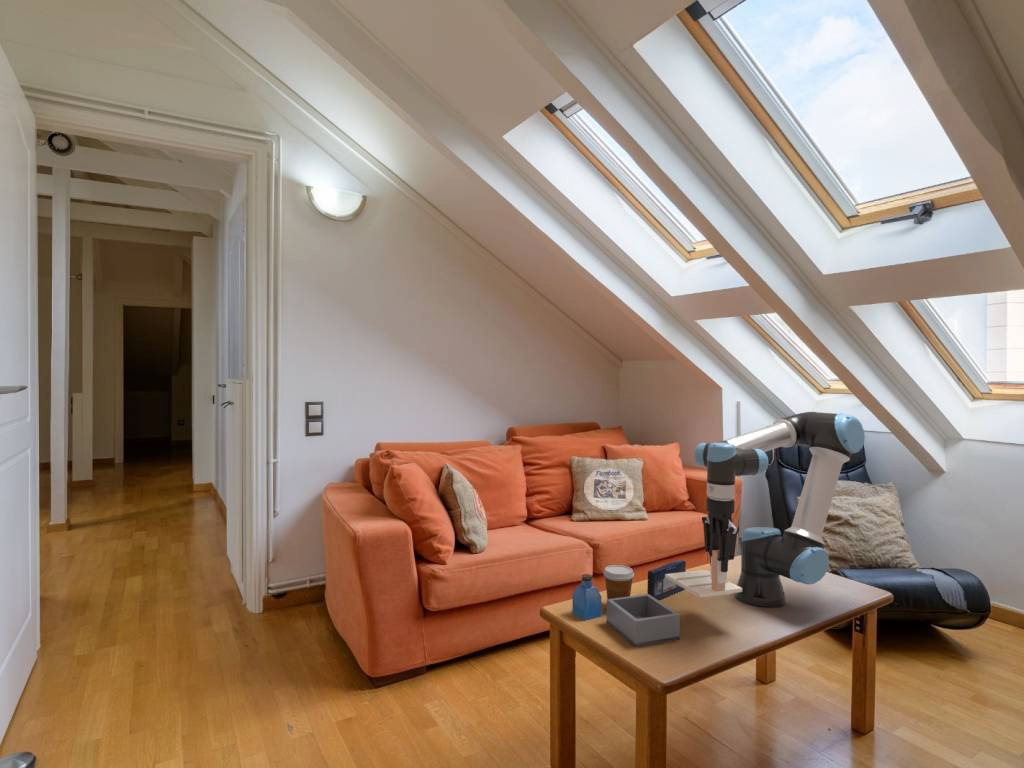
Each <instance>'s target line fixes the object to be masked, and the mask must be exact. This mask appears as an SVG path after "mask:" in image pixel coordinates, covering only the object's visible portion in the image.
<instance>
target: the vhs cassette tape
mask: <svg viewBox="0 0 1024 768" xmlns="http://www.w3.org/2000/svg"><path fill="white" fill-rule="evenodd" d="M686 561H687V560H683V559H678V560H675V561H673V562H670V563H667V564H665V565H661V566H659V567H655V568H653V569H651V570H648V571H647V591H646V592H647V593H646V594H649V595H651V596H652V597H654V598H655V599H657V600H658V601H659V600H660V601H661V600H664V598H665V599H666V598H669V596H670V597H672V596H674V595H676V593H677V594H679V593H682V592H684V591H685V590H686V589H684V588H682V587H681V586H679V585H677V584H675V583H674V582H672V581H670V580H668V579H667V578H665V574H671V573H680V572H687V570H686V567H687V564H686V563H687V562H686ZM683 590H684V591H683ZM678 592H679V593H678ZM673 594H674V595H673ZM671 595H672V596H671Z"/></svg>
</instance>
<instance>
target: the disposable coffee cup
mask: <svg viewBox="0 0 1024 768" xmlns="http://www.w3.org/2000/svg"><path fill="white" fill-rule="evenodd" d="M603 576H604V581H605V589H606V597H607V599H613V598H621V597H628V596H631V592H632V587H633V586H632V585H633V579H634V577H635V573H634V571H633V569H632V568H631V567H630V566H626V565H621V564H614V565H613V564H611V565H608V566H607V565H606V566H605V568H604V571H603ZM607 599H606V600H607Z"/></svg>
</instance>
